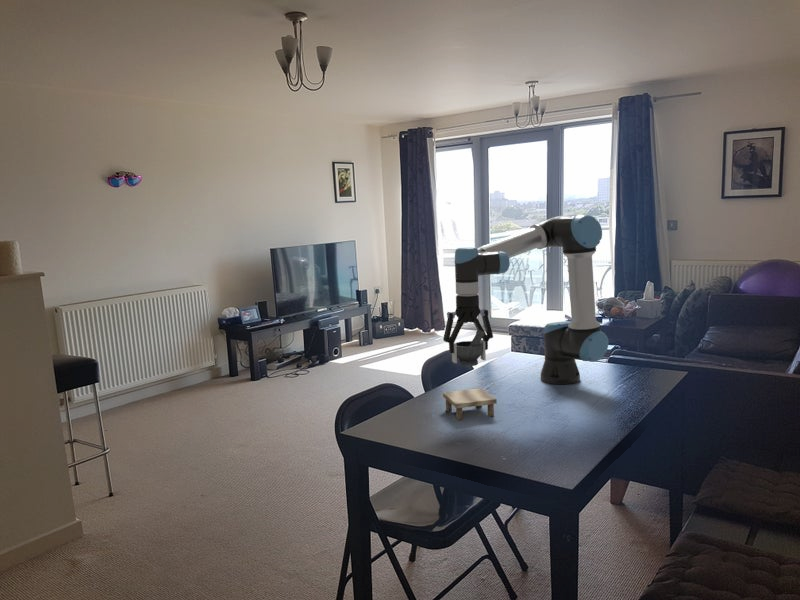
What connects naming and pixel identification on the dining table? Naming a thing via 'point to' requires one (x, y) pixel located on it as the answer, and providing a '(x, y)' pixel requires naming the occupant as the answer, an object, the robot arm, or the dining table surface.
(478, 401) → the oak footstool
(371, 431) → the dining table surface
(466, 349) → the mortar and pestle
